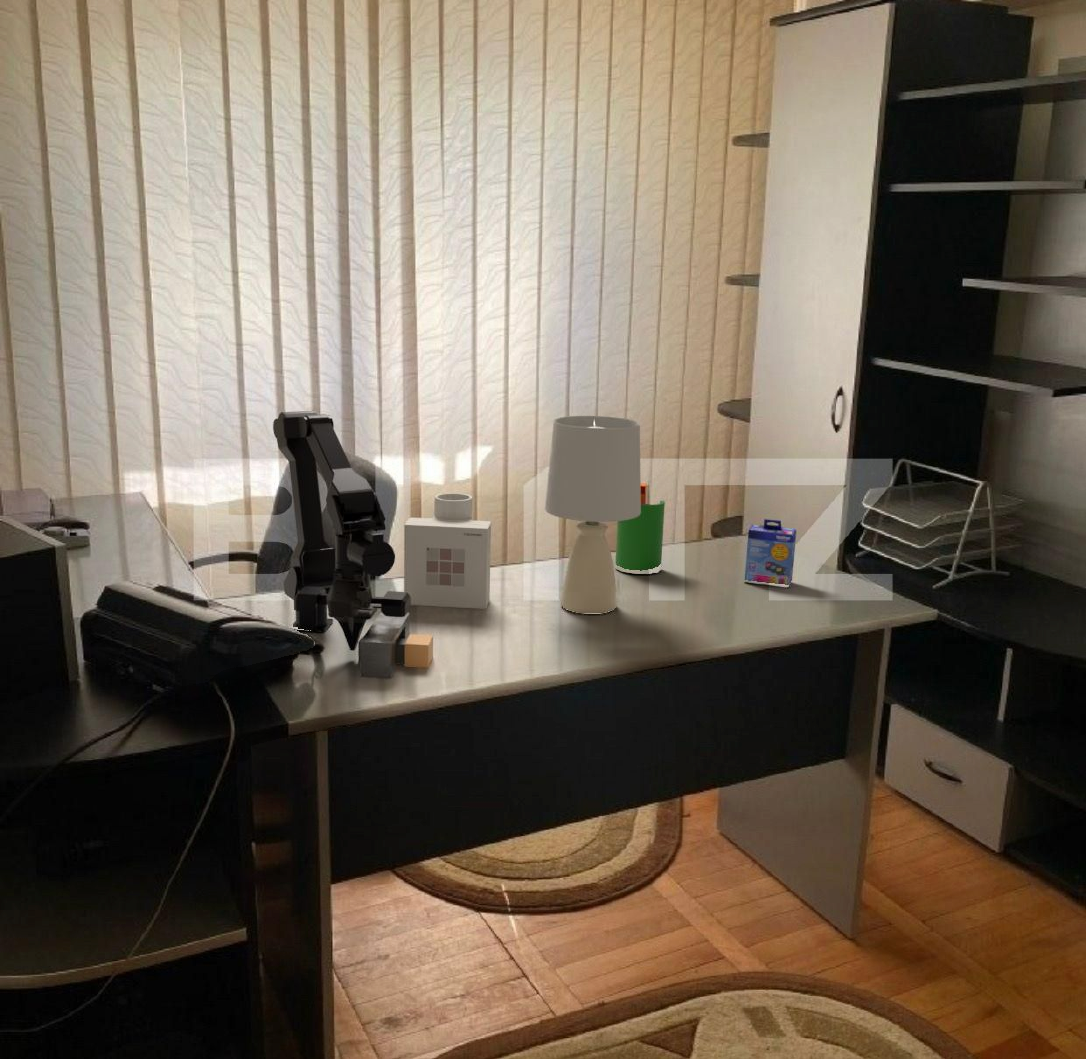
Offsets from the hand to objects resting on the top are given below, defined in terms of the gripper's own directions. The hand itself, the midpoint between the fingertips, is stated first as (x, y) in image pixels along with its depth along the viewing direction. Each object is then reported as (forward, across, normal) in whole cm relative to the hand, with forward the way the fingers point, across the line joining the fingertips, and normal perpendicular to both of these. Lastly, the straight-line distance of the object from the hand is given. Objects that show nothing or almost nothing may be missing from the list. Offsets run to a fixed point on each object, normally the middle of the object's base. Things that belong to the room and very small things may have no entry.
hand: (353, 649), depth 191 cm
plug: (+2, +7, 0) cm, 7 cm away
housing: (+2, +6, 0) cm, 6 cm away
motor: (+2, +49, +65) cm, 81 cm away
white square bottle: (+2, +11, +40) cm, 41 cm away
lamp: (+2, +39, +36) cm, 53 cm away
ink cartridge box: (+1, +77, +60) cm, 97 cm away
